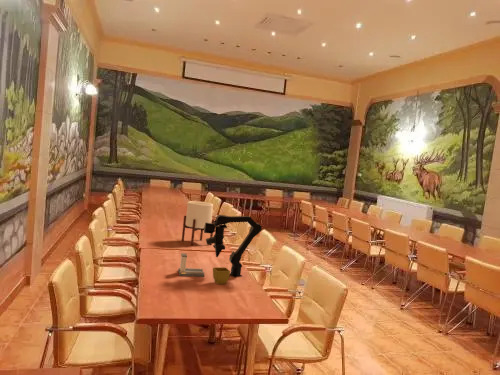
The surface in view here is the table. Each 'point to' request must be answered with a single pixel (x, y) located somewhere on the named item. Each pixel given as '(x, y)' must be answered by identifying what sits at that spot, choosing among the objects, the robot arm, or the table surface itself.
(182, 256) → the fader knob
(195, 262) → the table surface
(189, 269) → the grey railed base plate
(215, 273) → the flower pot
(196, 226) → the plant pot with stand
